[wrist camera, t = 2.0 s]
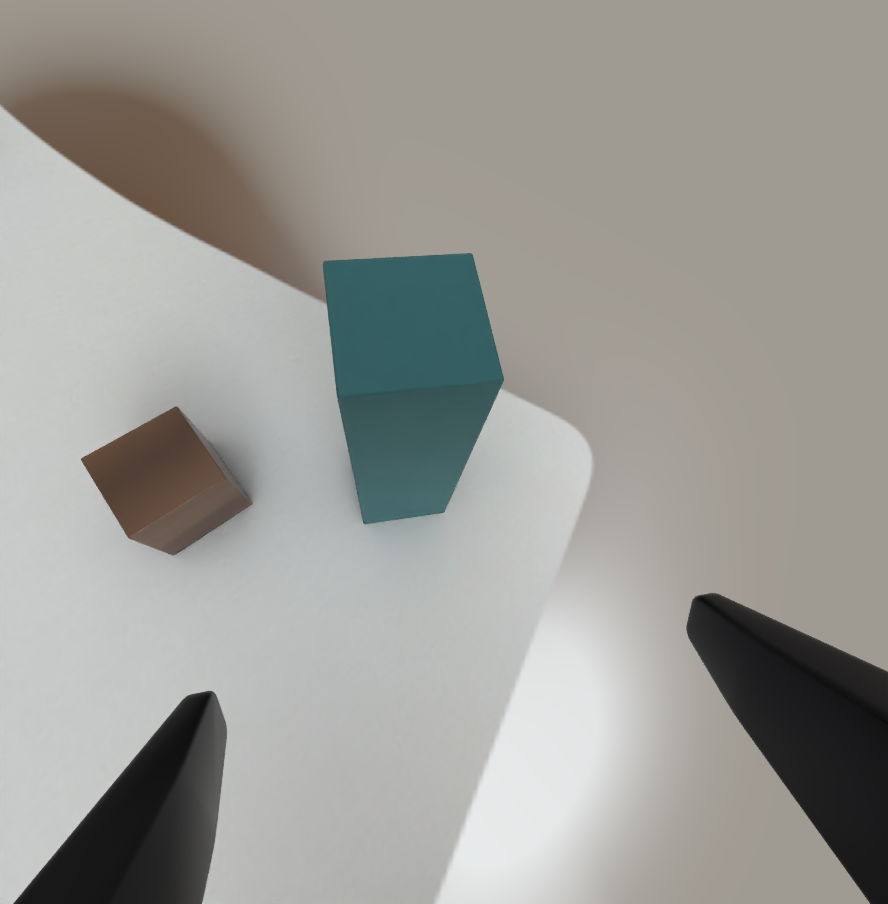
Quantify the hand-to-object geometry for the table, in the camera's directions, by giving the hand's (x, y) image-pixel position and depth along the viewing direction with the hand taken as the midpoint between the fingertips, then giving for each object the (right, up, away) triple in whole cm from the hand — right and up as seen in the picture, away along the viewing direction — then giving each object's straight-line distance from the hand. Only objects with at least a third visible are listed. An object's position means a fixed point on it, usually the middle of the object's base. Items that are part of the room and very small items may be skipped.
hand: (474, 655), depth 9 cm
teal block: (-3, +2, +15) cm, 15 cm away
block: (-12, +2, +14) cm, 19 cm away
